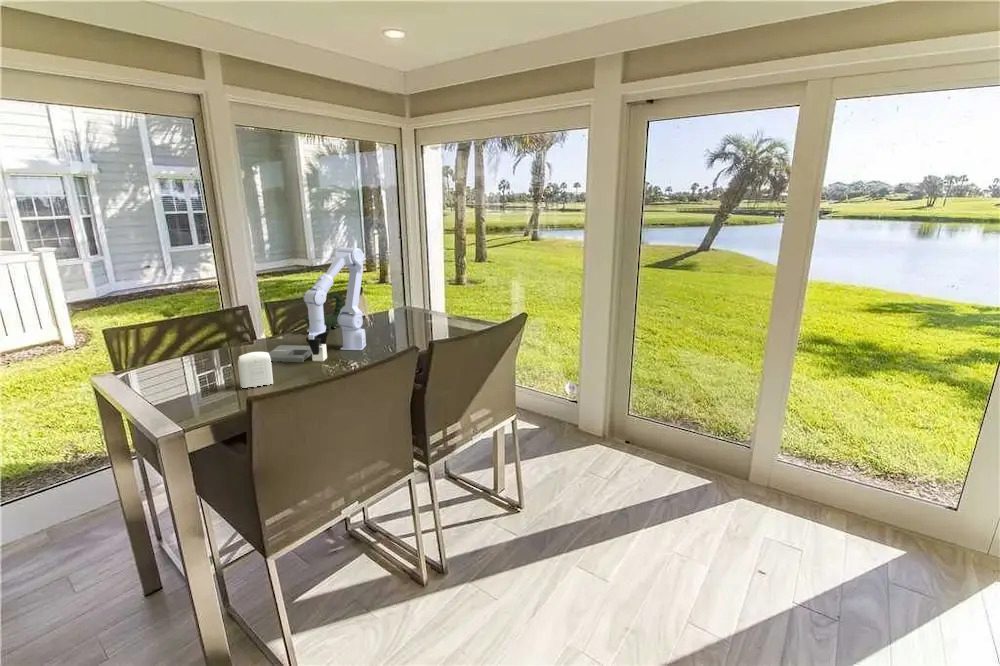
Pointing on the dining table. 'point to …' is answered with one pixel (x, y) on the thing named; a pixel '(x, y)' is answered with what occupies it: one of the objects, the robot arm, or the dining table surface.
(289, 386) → the dining table surface
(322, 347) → the block
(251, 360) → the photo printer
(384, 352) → the dining table surface
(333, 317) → the toy figurine
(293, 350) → the socket plate
